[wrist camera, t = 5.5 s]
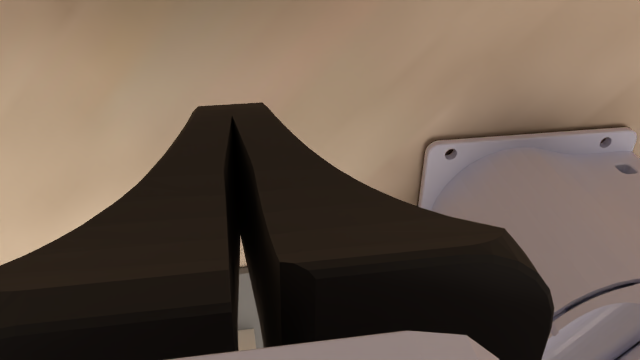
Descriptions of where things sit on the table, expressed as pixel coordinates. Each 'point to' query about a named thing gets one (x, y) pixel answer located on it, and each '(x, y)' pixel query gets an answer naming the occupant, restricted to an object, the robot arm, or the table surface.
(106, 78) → the table surface
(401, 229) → the robot arm
